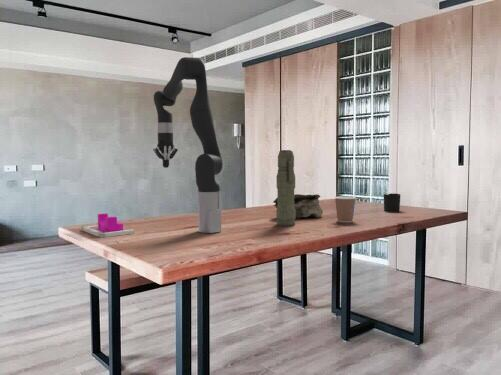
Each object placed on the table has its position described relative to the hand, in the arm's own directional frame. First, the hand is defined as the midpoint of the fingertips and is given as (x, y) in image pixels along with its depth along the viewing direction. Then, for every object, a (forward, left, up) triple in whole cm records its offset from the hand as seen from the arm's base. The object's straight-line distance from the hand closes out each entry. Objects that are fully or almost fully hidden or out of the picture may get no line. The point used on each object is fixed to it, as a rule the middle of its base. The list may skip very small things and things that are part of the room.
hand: (166, 167), depth 208 cm
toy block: (-11, +33, -27) cm, 44 cm away
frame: (-10, +33, -27) cm, 44 cm away
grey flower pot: (-58, -67, -27) cm, 93 cm away
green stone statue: (-46, -38, -27) cm, 66 cm away
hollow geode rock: (-32, -60, -27) cm, 73 cm away
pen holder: (-50, -121, -27) cm, 134 cm away
